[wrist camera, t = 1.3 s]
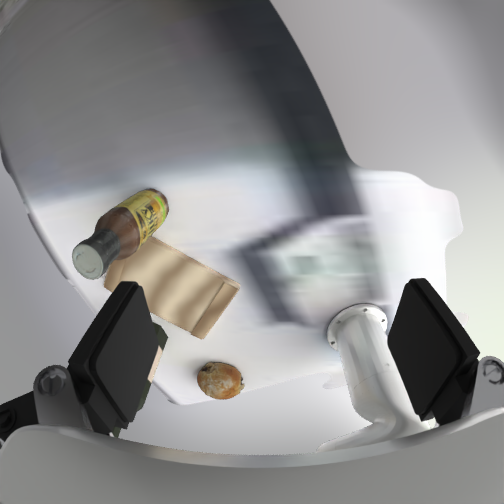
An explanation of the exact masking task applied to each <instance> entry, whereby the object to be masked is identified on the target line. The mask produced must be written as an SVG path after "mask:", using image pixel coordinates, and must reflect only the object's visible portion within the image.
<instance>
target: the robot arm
mask: <svg viewBox="0 0 504 504" xmlns="http://www.w3.org/2000/svg"><path fill="white" fill-rule="evenodd" d="M386 328H387V318H386V315H385V314H384V312H383V311H382V310H381V309H380V308H379V307H377V306H375V305H372V304H359V305H354V306H352V307H349V308H347V309H345V310H343V311H342V312H340V313H339V314H338V315H337V316H336V317H335V318H334V319H333V320H332V321H331V323H330V325H329V327H328V330H327V339H328V342H329V345H330V346H331V347H332V348H333V349H334V350H336V351H338V352H339V354H340V357H341V361H342V365H343V369H344V373H345V377H346V381H347V385H348V389H349V393H350V397H351V401H352V405H353V407H354V409H355V410H356V412H357V413H358V414H359V415H360V416H361V417H363V418H364V419H366V420H368V421H370V422H372V423H373V424H372V425H370V426H367V427H365V428H363V429H361V430H358V431H355V432H352V433H350V434H347V435H344V436H341V437H338V438H335V439H332V440H329V441H327V442H325V443H323V444H322V445H320V446H319V447H318V448H317V450H316V452H315V453H306V454H289V455H230V454H213V453H203V452H193V451H184V450H177V449H171V448H165V447H158V446H153V445H148V444H143V443H138V442H133V441H128V440H123V439H120V438H115V437H114V436H113V434H112V431H113V428H114V426H115V427H119V428H123V429H127V427H128V424H129V422H133V420H134V418H135V415H136V412H137V409H138V406H139V403H140V400H141V397H142V394H143V391H144V388H145V385H146V382H147V379H148V376H149V373H150V371H151V368H152V365H153V362H154V359H155V357H156V354H157V351H158V347H159V343H158V338H157V335H156V332H155V329H154V325H153V322H152V319H151V315H150V312H149V308H148V305H147V301H146V297H145V294H144V290H143V287H142V286H139V285H138V283H137V282H136V281H121V282H120V283H119V284H118V286H117V287H116V288H115V290H114V291H113V293H112V294H111V295H110V297H109V298H108V300H107V301H106V303H105V304H104V306H103V307H102V309H101V310H100V312H99V313H98V315H97V316H96V318H95V319H94V321H93V322H92V324H91V325H90V327H89V328H88V330H87V331H86V333H85V335H84V336H83V338H82V339H81V341H80V342H79V344H78V346H77V347H76V349H75V351H74V352H73V354H72V356H71V357H70V359H69V361H68V363H69V365H68V367H67V369H66V368H65V367H63V366H60V365H52V366H48V367H46V368H44V369H43V370H42V371H41V372H39V374H38V375H37V376H36V378H35V381H34V383H33V384H34V385H33V391H31V392H29V393H27V394H25V395H22V396H20V397H18V398H15V399H13V400H11V401H8V402H6V403H3V404H2V405H0V504H504V363H503V362H502V361H501V360H500V359H498V358H496V357H492V356H486V357H484V358H482V359H481V360H480V361H478V359H477V357H478V356H479V354H480V352H479V350H478V349H477V347H476V346H475V344H474V343H473V341H472V340H471V339H470V337H469V335H468V334H467V332H466V331H465V329H464V328H463V327H462V325H461V324H460V322H459V321H458V320H457V318H456V317H455V316H454V314H453V313H452V311H451V310H450V309H449V307H448V306H447V305H446V304H445V302H444V301H443V300H442V298H441V297H440V296H439V294H438V293H437V292H436V291H435V289H434V288H433V287H432V286H431V284H430V283H429V282H428V281H427V280H426V279H425V278H417V279H411V280H410V281H409V282H408V283H406V285H405V287H404V290H403V293H402V297H401V300H400V303H399V306H398V309H397V312H396V315H395V318H394V321H393V324H392V327H391V329H390V332H389V335H388V338H387V336H386V334H385V331H386ZM434 417H435V419H436V424H435V426H434V428H433V429H431V427H430V425H429V424H428V422H427V420H429V419H433V418H434Z"/></svg>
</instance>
